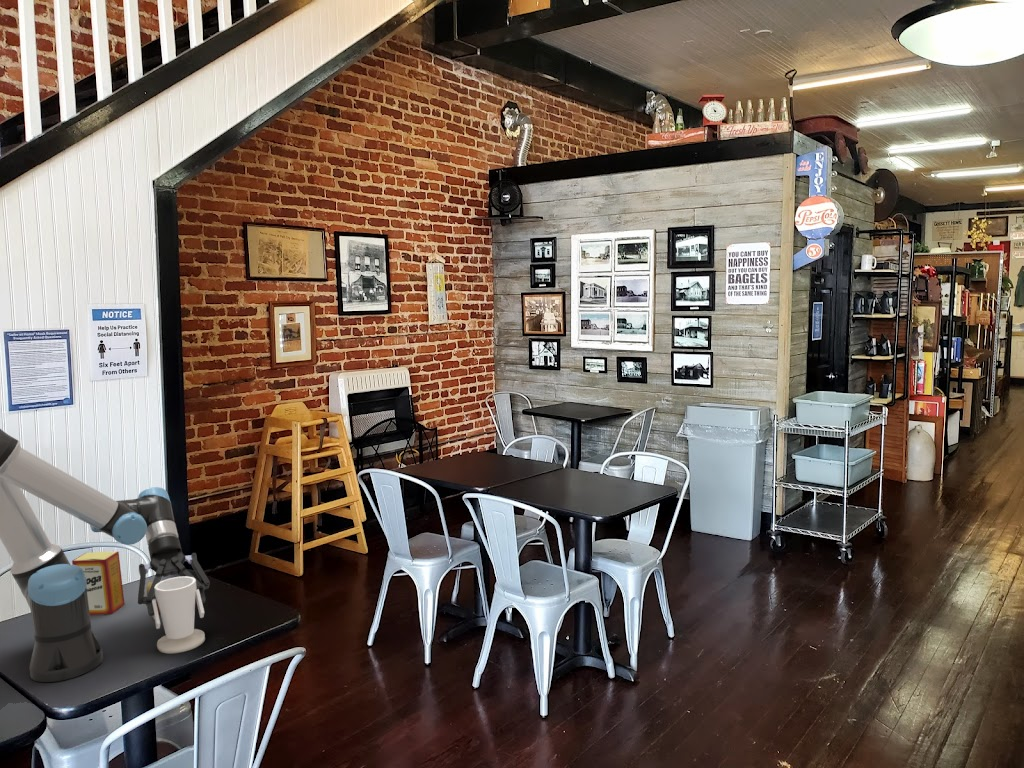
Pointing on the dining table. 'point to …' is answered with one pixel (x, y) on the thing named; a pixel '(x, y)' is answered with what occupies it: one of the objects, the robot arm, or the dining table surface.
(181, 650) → the plate
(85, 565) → the baking soda box
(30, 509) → the robot arm
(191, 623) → the foam cup
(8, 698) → the dining table surface
